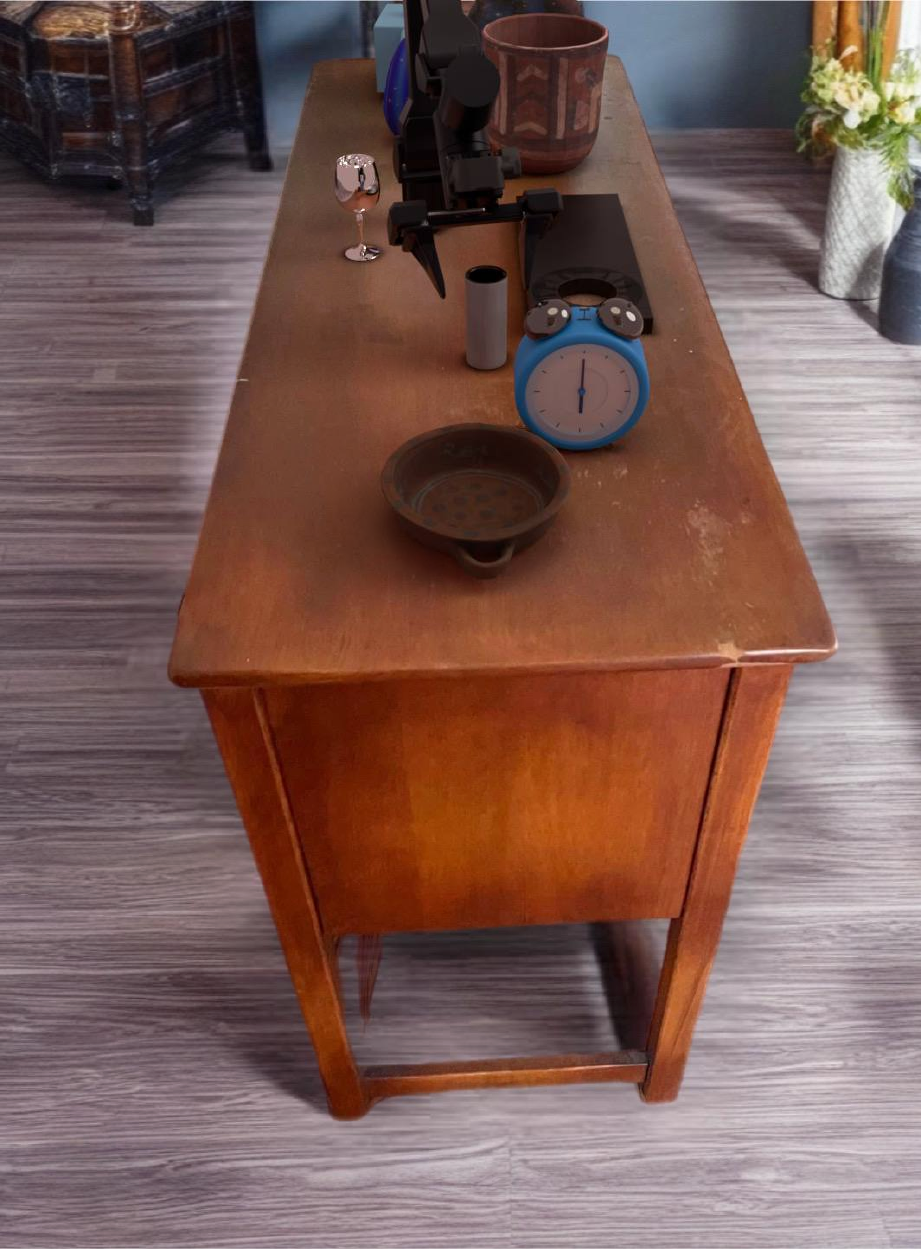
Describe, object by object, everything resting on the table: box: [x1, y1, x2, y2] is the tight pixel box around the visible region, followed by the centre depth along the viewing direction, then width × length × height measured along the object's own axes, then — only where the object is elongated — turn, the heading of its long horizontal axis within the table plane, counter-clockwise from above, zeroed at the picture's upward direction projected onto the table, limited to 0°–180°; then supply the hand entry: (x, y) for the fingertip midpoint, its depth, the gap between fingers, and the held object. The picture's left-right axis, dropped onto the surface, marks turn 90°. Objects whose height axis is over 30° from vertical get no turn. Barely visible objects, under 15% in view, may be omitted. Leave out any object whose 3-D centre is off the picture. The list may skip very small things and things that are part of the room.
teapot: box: [373, 3, 405, 93], centre depth 199 cm, size 22×11×14 cm, turn 173°
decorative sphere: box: [466, 0, 586, 47], centre depth 188 cm, size 19×20×20 cm
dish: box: [379, 422, 572, 580], centre depth 110 cm, size 18×22×5 cm
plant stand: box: [515, 193, 654, 334], centre depth 150 cm, size 36×14×2 cm, turn 1°
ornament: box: [382, 38, 409, 137], centre depth 180 cm, size 11×9×15 cm
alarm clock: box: [513, 298, 651, 451], centre depth 117 cm, size 13×6×15 cm, turn 89°
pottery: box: [482, 13, 610, 175], centre depth 172 cm, size 18×18×18 cm
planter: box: [464, 264, 508, 371], centre depth 130 cm, size 4×4×10 cm
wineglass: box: [333, 153, 381, 262], centre depth 151 cm, size 6×6×12 cm
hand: (485, 293), depth 129 cm, fingers open, 9 cm apart
